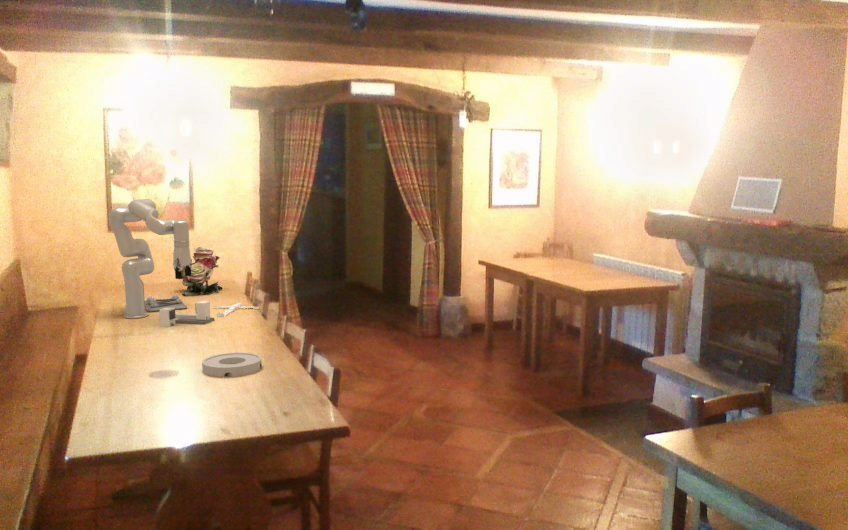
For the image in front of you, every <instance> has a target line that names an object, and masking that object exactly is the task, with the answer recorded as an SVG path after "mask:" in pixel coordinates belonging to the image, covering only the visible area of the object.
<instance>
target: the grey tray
mask: <svg viewBox="0 0 848 530" xmlns="http://www.w3.org/2000/svg"><path fill="white" fill-rule="evenodd" d="M163 308H174V309H175V311H181V310H186V309H187V308H188V307H187V305H186V304H185V303H184V302H183V299H182V298H180V296H179V295H178V294H173V295H172V296H171V297H170V298H163V299H160V298H159V299H157V298H156V299H155V298H154V296H153V297H152V296H148V297H146V299H145V310H146V311H147V313H157V312H159V313H160V309H163Z"/></svg>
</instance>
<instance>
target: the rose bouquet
mask: <svg viewBox="0 0 848 530" xmlns="http://www.w3.org/2000/svg"><path fill="white" fill-rule="evenodd" d="M193 251H194V252H193V253H192V254H193V256H192V259H193V260H194V262H192V265H191V276H185V266H184V267H182V268H181V274H182V279H181V283H182V285H183V286H184V287H187V288H186V289H184V291H183V292H182V295H185V296H186V297H189V298H190V297H198V296H210V295H213V294H216V295H217V294H219V290H223V287H222V286H220V285H219V284H218V283H219V281H217V282H214V283H212V284H208V283H209V281H210V280H211V277H212V275H213V272H214V268H218V269H219V268H220V266H219V264H217V263H218V262H217V261H218V260H220V259H221V257H219V256H218V255H213V254H214V250H212V249H207V248H204V247H202V246H200V247H196V248H194V250H193ZM178 268H179V267H178ZM204 284H205V285H204Z"/></svg>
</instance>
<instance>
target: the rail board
mask: <svg viewBox="0 0 848 530" xmlns="http://www.w3.org/2000/svg"><path fill="white" fill-rule="evenodd" d="M210 303H211V301H209V300H208V301H207V300H200V301H197V302H195V304H194V306H195V307H194V309H195V314H185V313H175V324H187V325H188V324H190V325H207V324H210V323H211V322H214V321H215V317H211V304H210Z"/></svg>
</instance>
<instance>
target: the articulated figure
mask: <svg viewBox="0 0 848 530" xmlns="http://www.w3.org/2000/svg"><path fill="white" fill-rule="evenodd" d="M212 307H213V309H219V310H220V309H221V310H222V309H225V311H224V312H221V313H220V312H218V313H217V318H225V317H228V316H229V315H231V314H233V313H234V312H236V311H238V310H239V309H240V310H247V309H248V308H253V309H252V310H258V309H259V310H260V306H245V305H244V306H242V303H241V302H237V303H236V304H235V303H233V304H232V305H231V306H229V305H226V306H224V305H221V306H220V305H218V306H216V305H215V306H212ZM246 308H247V309H246ZM237 309H238V310H237ZM233 311H234V312H233ZM232 312H233V313H232ZM230 313H231V314H230ZM224 316H225V317H224Z"/></svg>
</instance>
